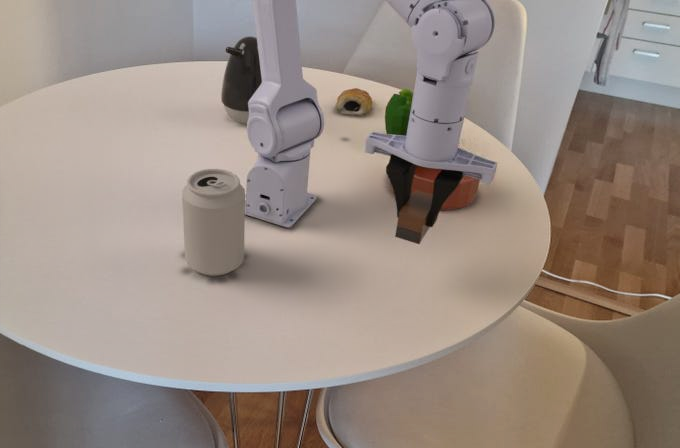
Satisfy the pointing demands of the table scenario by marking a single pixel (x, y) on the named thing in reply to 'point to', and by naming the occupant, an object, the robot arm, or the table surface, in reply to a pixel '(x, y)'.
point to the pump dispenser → (241, 78)
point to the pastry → (354, 102)
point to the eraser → (414, 217)
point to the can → (213, 221)
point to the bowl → (459, 196)
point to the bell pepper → (398, 113)
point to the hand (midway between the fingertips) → (416, 218)
